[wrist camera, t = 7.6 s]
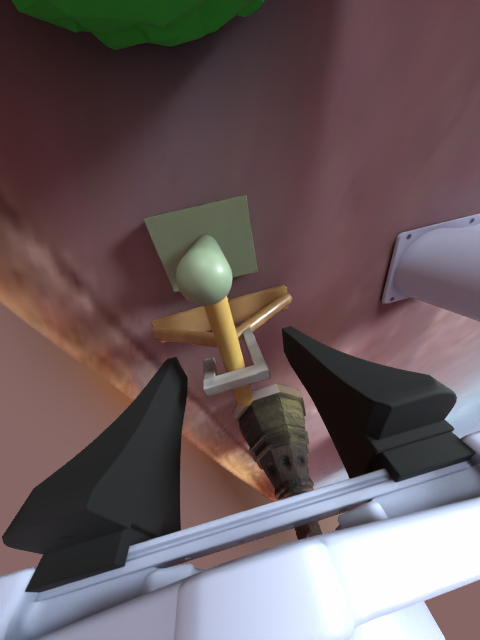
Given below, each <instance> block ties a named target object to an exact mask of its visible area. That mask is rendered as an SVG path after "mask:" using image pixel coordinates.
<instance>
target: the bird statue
mask: <svg viewBox="0 0 480 640" xmlns="http://www.w3.org/2000/svg"><path fill="white" fill-rule="evenodd" d="M252 394H253V400H252V402H251V404H250V405H248V406H245V407H244V406H241V405H239V404H238V405H237V407H236V408H235V409H234V419H235V422H236V423H237V425H238V427H239V429H240V431H241V433H242V435H243V436H244V438H245V440H246V441H247V443H248V445H249V446H250V449H249V451H250V453H251V455H252V457H253V459H254V460H255V462H257V464H258V466H259V467H260V469H263V470H264V471H265V473H266V475H267V476H268V478H269V479H270V481H271V483H272V485H273V486H274V488H275V497H276V498H277V499H278V500H282V499H286V498H289V497H292V496H295V495H299V494H302V493H305V492H308V491H312V490H313V486H314V484H313V482H312V480H311V478H310V477H309V470H308V458H307V454H308V453H309V446H308V445H309V439H308V432H307V431H306V430H305V419H304V416H305V415H306V414H305V408H304V401H303V397H302V396H301V394H300V392H299V390H297V389H294V388H291V387H287V386H284V385H280V384H277V383H276V384H273V385H270V386H267V387H264V388H261V389H258V390H255V391H252ZM295 531H296V535H297V538H298V540H300V539H304V538H308V537H312V536H316V535H320V534H322V532H321V529H320V526H319V524H318V521H315V522H312V523H309V524H305V525H302V526H299V527H296V528H295Z"/></svg>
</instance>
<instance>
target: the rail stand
mask: <svg viewBox="0 0 480 640" xmlns="http://www.w3.org/2000/svg"><path fill="white" fill-rule="evenodd" d="M143 221H144V223H145V225H146V228H147V230H148V232H149V235H150V237H151V239H152V242H153V244H154V246H155V249H156V251H157V253H158V256H159V258H160V260H161V263H162V265H163V267H164V270H165V272H166V275H167V277H168V279H169V282H170V284H171V286H172V289H173V291H174V292H179V291H181V293H182V294H183V296H184V297H185V298H186V299H188V300H189V301H190V302H192V303H194V304H197V305H201V306H204V309H205V312H206V315H207V318H208V320H209V323H210V326H211V329H212V332H213V335H214V338H215V341H216V343H217V346H218V349H219V352H220V355H221V358H222V361H223V364H224V366H225V369H226V372H227V373H228V372H232V371H235V370H238V369H242V368H245V364H244V360H243V356H242V352H241V348H240V345H239V341H238V337H237V333H236V329H235V326H234V322H233V318H232V314H231V310H230V306H229V303H228V299H227V295H228V293H229V291H230V289H231V286H232V280H233V279H232V278H234V277H238V276H242V275H246V274H250V273H254V272H257V271H258V270H257V263H256V256H255V250H254V243H253V236H252V230H251V223H250V217H249V210H248V203H247V197H246V195H242V196H237V197H233V198H229V199H224V200H220V201H216V202H212V203H207V204H203V205H199V206H194V207H190V208H186V209H182V210H177V211H173V212H169V213H164V214H160V215H156V216H151V217H147V218H144V219H143ZM233 392H234V395H235V398H236V401H237V403H238V404H239V405H241V406H244V407H245V406H248V405H250V404H251V402H252V400H253V394H252V390H251V387H250V384H249V385H245V386H242V387H239V388H235V389H233Z"/></svg>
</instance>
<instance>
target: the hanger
mask: <svg viewBox="0 0 480 640" xmlns="http://www.w3.org/2000/svg"><path fill="white" fill-rule="evenodd" d="M291 302H292V297H291V295H290V294H288V293H287V287H286V286H284V285H281V286H278V287H274V288H270V289H266V290H262V291H259V292H255V293H251V294H247V295H244V296H240V297H236V298H232V299H228V303H229V306H230V310H231V314H232V318H233V322H234V324H235V323H239V322H243V321H244V322H243V323H242V324H240V325H239V326H237V327H236V328H235V329H236V333H237V337H238V341H239V342H241V341H242V340H243V339H244V340H245V343H246V346H247V349H248V352H249V355H250V358H251V361H252V363H253V365H252V366H249V367H245V368H242V369H238V370H235V371H232V372H228V373H225V374H221V375H218V376H217V367H216V362H215V359H214V357H211V358H207V359H204V370H203V390H204V392H205V394H206V396H207V397H208V396H212V395H215V394H218V393H222V392H225V391H229V390H232V389H235V388H239V387H242V386H245V385H249V384H252V383H256V382H259V381H263V380H266V379H270V372H269V368H268V366H267V364H266V362H265V359H264V357H263V355H262V353H261V351H260V348H259V346H258V344H257V342H256V339H255V337H254V335H253V333H252V332H254V331H255V330H256V329H258V328H259V327H260V326H261V325H263V324H264V323H265V322H267V321H268V320H269V319H270V318H272V317H273V316H274V315H276V314H277V313H278V312H279V311H283V310H286V309H288V304H290V303H291ZM151 325H152V326H153V328H154V330H153V331H152V337H153V338H154V339H157V340H160V341H161V343H166V342H169V341H173V342H180V343H188V344H196V345H203V346H211V347H218V346H217V343H216V341H215V338H214V335H213V332H206V331H210V330H212V329H211V326H210V323H209V320H208V318H207V315H206V312H205V309H204V306H202V307H198V308H194V309H191V310H187V311H183V312H179V313H175V314H172V315H168V316H164V317H160V318H157V319H153V320H152V322H151Z"/></svg>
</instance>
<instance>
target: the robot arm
mask: <svg viewBox="0 0 480 640" xmlns="http://www.w3.org/2000/svg"><path fill="white" fill-rule="evenodd" d="M406 237H407V238H406ZM410 297H413V298H415V299H418V300H421V301H424V302H427V303H429V304H432V305H435V306H438V307H441V308H443V309H446V310H449V311H452V312H455V313H458V314H460V315H463V316H466V317H469V318H472V319H474V320H477V321H480V213H479V214H475V215H471V216H467V217H463V218H459V219H455V220H451V221H447V222H443V223H439V224H435V225H431V226H427V227H423V228H419V229H415V230H411V231H407V232H403V233H400V234H399V235H398V237H397V239H396V243H395V247H394V251H393V255H392V260H391V264H390V268H389V272H388V276H387V281H386V285H385V289H384V293H383V297H382V302H383V303H385V304H388V303H391V302H395V301H399V300H403V299H406V298H410ZM282 336H283V346H284V353H285V355H286V357H287V359H288V361H289V363H290V365H291V367H292V368H293V370H294V371H295V373H296V374H297V376H298V378H299V379H300V381H301V382H302V384H303V385H304V387H305V388H306V390H307V391H308V393H309V395H310V397H311V398H312V400H313V402H314V404H315V406H316V408H317V410H318V412H319V414H320V416H321V418H322V420H323V422H324V424H325V426H326V428H327V430H328V432H329V434H330V436H331V438H332V440H333V443H334V445H335V447H336V449H337V451H338V453H339V456H340V458H341V460H342V462H343V464H344V467H345V469H346V471H347V473H348V476H349V478H350V479H348V480H345V481H341V482H338V483H335V484H331V485H328V486H325V487H322V488H318V489H315V490H312V491H308V492H305V493H302V494H299V495H295V496H292V497H289V498H286V499H282V500H279V501H276V502H272V503H269V504H266V505H263V506H259V507H256V508H253V509H250V510H246V511H243V512H240V513H236V514H233V515H230V516H227V517H223V518H220V519H217V520H213V521H210V522H207V523H203V524H200V525H197V526H194V527H190V528H187V529H184V530H181V528H180V527H181V526H180V452H181V450H180V449H181V434H182V425H183V419H184V412H185V405H186V398H187V376H186V374H185V372H184V370H183V368H182V367H181V365H180V363H179V361H178V359H177V357H173V358H169V359H167V360H166V361H165V362H164V363H163V365H162V366H161V367H160V369H159V370H158V371H157V373H156V374H155V375H154V377H153V378H152V379H151V381H150V382H149V383H148V384H147V386H146V387H145V388H144V389H143V390H142V392H141V393H140V394H139V395H138V397H137V398H136V399H135V400H134V401H133V402H132V403H131V405H130V406H129V407H128V408H127V409H126V410H125V411H124V412H123V413H122V414H121V415H120V416H119V417H118V418H117V419H116V420H115V421H114V422H113V423H112V424H111V425H110V426H109V427H108V428H107V429H106V430H105V431H104V432H103V433H102V434H100V436H98V437H97V438H96V439H95V440H94V441H93V442H92V443H90V444H89V445H88V446H87V447H86V448H85V449H83V450H82V451H81V452H80V453H79V454H77V455H76V456H75V457H74V458H73V459H71V460H70V461H69V462H68V463H66V464H65V465H64V466H63V467H61V468H60V469H59V470H57V471H56V472H55V473H53V474H52V475H51V476H50V477H48V478H47V479H46V480H44V481H43V482H42V483H40V484H39V485H38V486H36V487H35V488H34V489H33V490H32V492H31V493H30V495H29V497H28V498H27V500H26V501H25V503H24V504H23V506H22V507H21V509H20V510H19V512H18V513H17V515H16V516H15V518H14V519H13V521H12V523H11V524H10V526H9V527H8V529H7V530H6V532H5V533H4V535H3V536H2V539H3V542H4V544H5V545H6V546H8V547H11V548H15V549H19V550H24V551H29V552H34V553H39V554H43V556H42V558H41V560H40V562H39V564H38V566H37V567H34V568H27V569H23V570H19V571H16V572H13V573H9V574H7V575H3V576H0V640H445V638H444V636H443V634H442V633H441V631H440V629H439V627H438V626H437V624H436V622H435V620H434V619H433V617H432V615H431V614H430V612H429V610H428V608H427V607H426V605H425V603H424V601H425V600H427V599H430V598H433V597H435V596H438V595H440V594H443V593H446V592H448V591H451V590H453V589H456V588H459V587H461V586H464V585H467V584H469V583H472V582H475V581H477V580H480V431H478V432H475V433H472V434H469V435H466V436H465V437H463V438H461V439H459V438H458V437H457V436H456V435H455V434H453V433H452V432H451V431H453V430H454V428H453V426H451V425H450V424H449V423H448V422H447V421H445V420H444V419H445V418H446V416H447V415H448V414H449V412H450V411H451V410H452V408H453V407H454V405H455V403H456V399H457V397H456V394H455V393H454V392H453V391H452V390H450V389H449V388H447V387H446V386H444V385H443V384H441V383H440V382H439V381H437V380H436V379H434V378H433V377H431V376H430V375H426V374H421V373H416V372H411V371H406V370H400V369H396V368H392V367H388V366H384V365H380V364H376V363H373V362H369V361H366V360H363V359H360V358H356V357H353V356H351V355H348V354H345V353H343V352H340V351H338V350H335V349H333V348H331V347H328V346H326V345H324V344H322V343H320V342H318V341H316V340H314V339H312V338H310V337H309V336H307V335H305V334H303V333H302V332H300V331H298V330H296V329H295V328H293V327H291V326H289V327H286V328H282ZM347 511H348V512H347ZM344 512H346V513H344ZM340 513H344V514H342V515H340V516H338V522H339V524H340V525H339V526H338V527H337V528H336V529H335V531H333V532H329V533H324V534H320V535H316V536H312V537H308V538H304V539H300V540H296V541H292V542H288V543H285V544H281V545H278V546H275V547H271V548H268V549H265V550H261V551H258V552H255V553H252V554H248V555H245V556H242V557H240V558H237V559H234V560H231V561H228V562H225V563H222V564H220V565H217V566H214V567H212V568H209V569H207V570H206V569H198V568H195V567H193V566H192V564H186V565H179V566H174V565H177V564H181V563H184V562H187V561H190V560H193V559H196V558H200V557H203V556H206V555H209V554H213V553H215V552H219V551H222V550H225V549H228V548H232V547H235V546H238V545H241V544H245V543H248V542H251V541H254V540H257V539H261V538H264V537H267V536H270V535H273V534H277V533H280V532H283V531H286V530H289V529H293V528H296V527H299V526H302V525H305V524H309V523H312V522H315V521H318V520H322V519H325V518H328V517H331V516H334V515H337V514H340ZM171 566H174V567H171Z"/></svg>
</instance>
